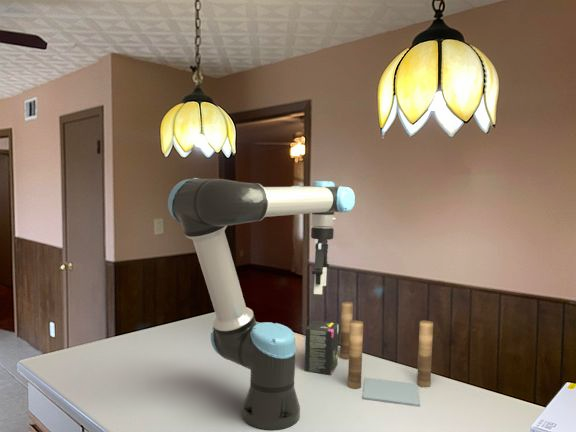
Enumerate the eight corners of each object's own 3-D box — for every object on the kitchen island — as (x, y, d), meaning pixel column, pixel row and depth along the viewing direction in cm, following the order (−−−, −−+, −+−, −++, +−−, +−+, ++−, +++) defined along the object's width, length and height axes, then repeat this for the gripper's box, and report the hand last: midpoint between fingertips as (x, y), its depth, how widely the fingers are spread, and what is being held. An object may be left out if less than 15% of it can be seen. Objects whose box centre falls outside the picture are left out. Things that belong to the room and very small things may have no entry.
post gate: (350, 360, 158) (352, 304, 157) (339, 358, 159) (341, 303, 157) (351, 356, 162) (353, 302, 160) (340, 354, 162) (342, 301, 161)
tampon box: (331, 375, 144) (332, 331, 143) (303, 371, 147) (305, 328, 146) (338, 363, 154) (339, 322, 153) (312, 359, 157) (313, 319, 156)
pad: (420, 406, 125) (420, 404, 125) (362, 399, 128) (362, 397, 128) (417, 385, 138) (417, 383, 138) (365, 379, 142) (365, 377, 142)
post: (430, 388, 136) (433, 324, 135) (417, 386, 137) (420, 323, 136) (429, 383, 140) (432, 321, 139) (416, 381, 141) (419, 319, 140)
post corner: (360, 389, 134) (362, 324, 133) (347, 388, 135) (349, 323, 134) (361, 384, 138) (363, 321, 137) (348, 382, 139) (350, 320, 138)
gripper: (330, 230, 136) (328, 298, 137) (336, 225, 160) (334, 283, 161) (306, 229, 137) (304, 297, 138) (315, 224, 162) (313, 281, 163)
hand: (320, 289), depth 150 cm, fingers open, 13 cm apart
